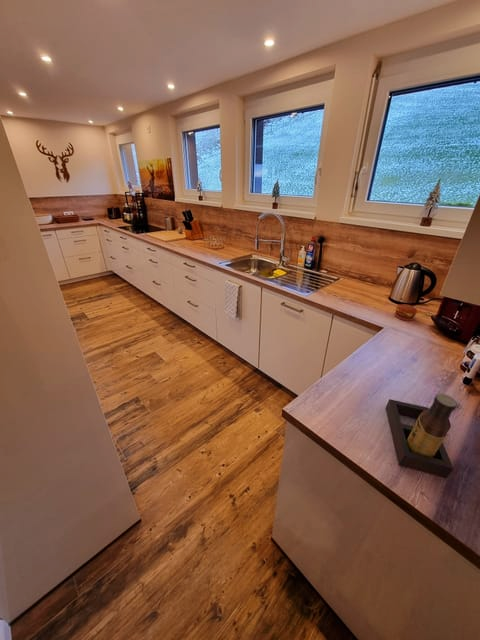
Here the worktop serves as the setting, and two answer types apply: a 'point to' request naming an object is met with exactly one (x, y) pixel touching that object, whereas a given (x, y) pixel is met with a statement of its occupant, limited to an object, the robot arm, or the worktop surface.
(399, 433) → the caddy
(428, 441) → the sauce bottle
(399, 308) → the hamburger
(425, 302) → the worktop surface
